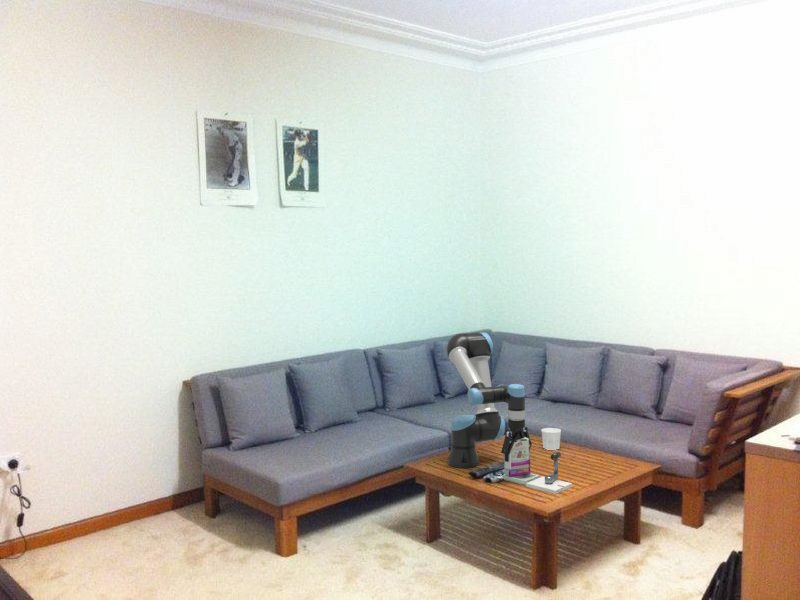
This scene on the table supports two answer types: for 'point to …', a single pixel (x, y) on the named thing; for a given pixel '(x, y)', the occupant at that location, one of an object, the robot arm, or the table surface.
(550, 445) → the cup
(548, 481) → the crank
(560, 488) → the crank base
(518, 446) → the candy bar box
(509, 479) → the tray
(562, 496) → the table surface
